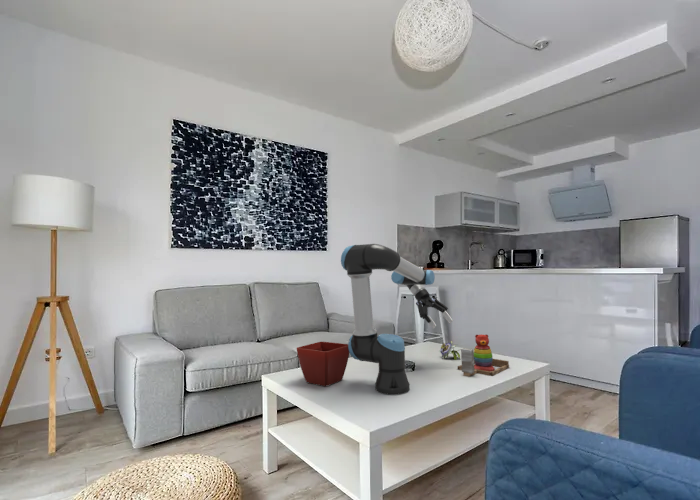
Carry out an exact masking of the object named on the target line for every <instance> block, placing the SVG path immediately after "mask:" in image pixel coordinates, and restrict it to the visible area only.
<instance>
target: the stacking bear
mask: <svg viewBox="0 0 700 500" xmlns="http://www.w3.org/2000/svg"><path fill="white" fill-rule="evenodd" d="M474 339H475V343H476V346H474V361H475V364H474V369H478V370H484V371H489V372H492V371H494V370H496V369H495V366H492V359H494V358H493V357H494V356H493V353H492V349H491V347H490V346H489V343H490V339H489V335H488V334H475V335H474Z"/></svg>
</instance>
